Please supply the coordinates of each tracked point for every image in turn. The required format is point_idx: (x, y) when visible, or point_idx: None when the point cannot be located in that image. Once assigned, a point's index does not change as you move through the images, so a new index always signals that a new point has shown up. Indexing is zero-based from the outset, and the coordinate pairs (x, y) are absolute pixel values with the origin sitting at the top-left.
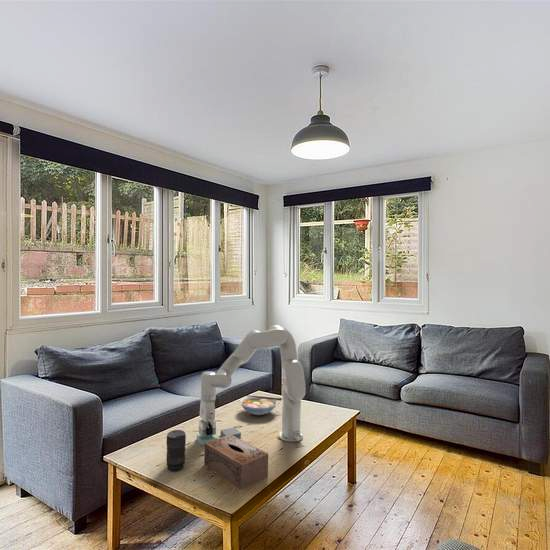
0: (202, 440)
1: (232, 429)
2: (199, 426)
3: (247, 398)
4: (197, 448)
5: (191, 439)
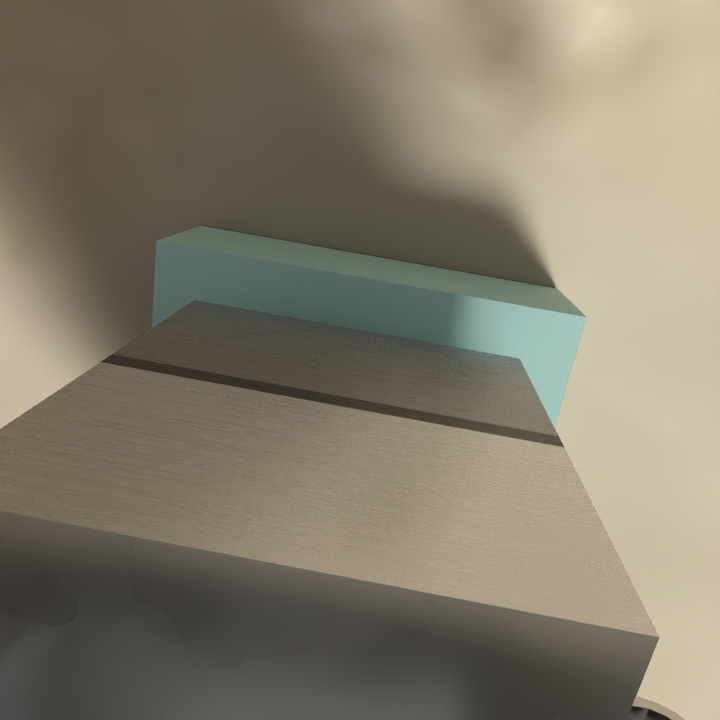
0: (174, 264)
1: None
2: (492, 442)
3: None
4: (144, 85)
5: (650, 195)
